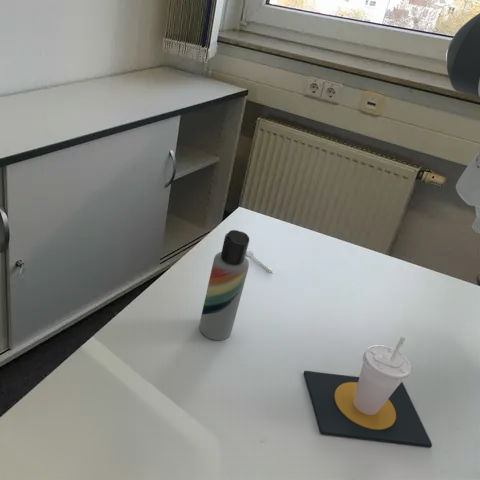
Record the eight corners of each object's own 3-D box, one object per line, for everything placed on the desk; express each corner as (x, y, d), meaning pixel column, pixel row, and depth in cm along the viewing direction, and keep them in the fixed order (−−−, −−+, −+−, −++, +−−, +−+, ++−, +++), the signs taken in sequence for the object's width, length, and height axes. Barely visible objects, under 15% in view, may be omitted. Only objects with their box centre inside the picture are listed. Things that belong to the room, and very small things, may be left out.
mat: (401, 384, 88) (403, 381, 88) (431, 447, 78) (433, 444, 78) (303, 372, 89) (304, 369, 88) (320, 434, 78) (322, 430, 78)
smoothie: (394, 424, 80) (432, 356, 73) (352, 420, 80) (385, 352, 72) (378, 390, 86) (411, 324, 78) (338, 387, 85) (367, 320, 78)
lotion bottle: (211, 315, 99) (233, 221, 88) (237, 331, 96) (263, 236, 85) (192, 328, 95) (212, 232, 85) (218, 346, 92) (242, 249, 81)
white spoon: (274, 274, 112) (276, 265, 110) (258, 279, 110) (260, 270, 108) (231, 239, 122) (233, 231, 120) (216, 243, 120) (218, 235, 118)
